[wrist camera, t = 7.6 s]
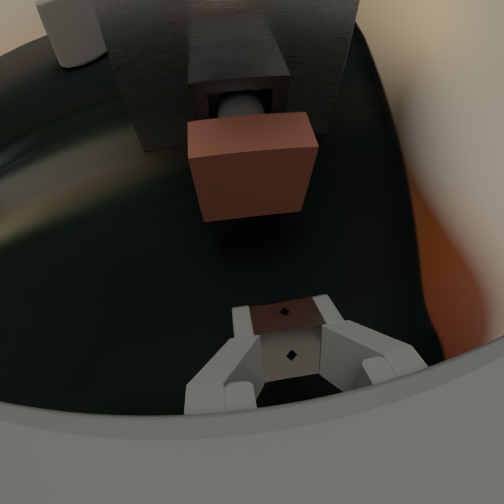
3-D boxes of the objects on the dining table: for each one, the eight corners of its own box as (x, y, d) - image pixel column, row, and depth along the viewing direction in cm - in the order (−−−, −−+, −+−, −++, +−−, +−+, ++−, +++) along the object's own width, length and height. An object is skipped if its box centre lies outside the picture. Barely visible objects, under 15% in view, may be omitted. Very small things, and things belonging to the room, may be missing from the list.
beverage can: (112, 59, 28) (87, -25, 17) (54, 78, 27) (22, 4, 16) (122, 32, 31) (105, -39, 20) (70, 49, 30) (47, -16, 19)
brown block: (204, 222, 15) (188, 158, 11) (199, 140, 17) (188, 74, 13) (300, 211, 15) (318, 146, 11) (280, 132, 17) (287, 66, 13)
